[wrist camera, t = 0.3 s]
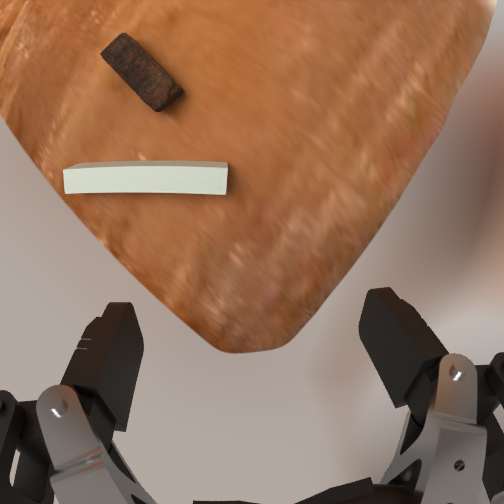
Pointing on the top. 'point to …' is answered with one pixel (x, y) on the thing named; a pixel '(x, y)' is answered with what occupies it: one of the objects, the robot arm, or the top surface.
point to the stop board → (147, 177)
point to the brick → (141, 72)
